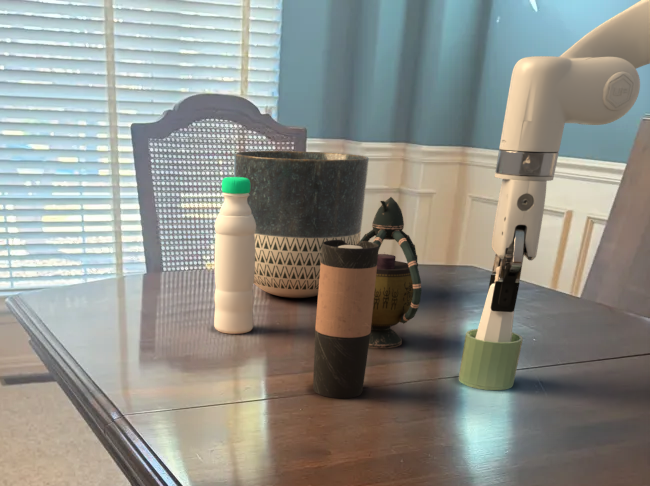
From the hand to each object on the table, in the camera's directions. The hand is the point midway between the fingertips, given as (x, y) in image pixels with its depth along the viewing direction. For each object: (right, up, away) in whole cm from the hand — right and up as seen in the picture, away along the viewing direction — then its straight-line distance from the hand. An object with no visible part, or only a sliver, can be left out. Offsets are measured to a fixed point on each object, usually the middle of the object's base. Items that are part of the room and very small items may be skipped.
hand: (499, 305), depth 111 cm
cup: (0, -10, +6) cm, 11 cm away
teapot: (-14, +3, +27) cm, 31 cm away
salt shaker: (0, -5, +3) cm, 6 cm away
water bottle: (-39, +4, +29) cm, 48 cm away
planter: (-26, +19, +55) cm, 64 cm away
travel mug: (-23, -12, 0) cm, 26 cm away
